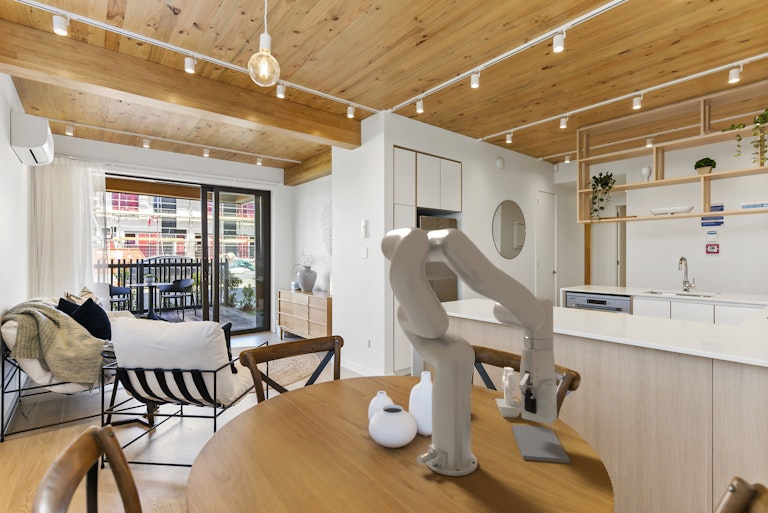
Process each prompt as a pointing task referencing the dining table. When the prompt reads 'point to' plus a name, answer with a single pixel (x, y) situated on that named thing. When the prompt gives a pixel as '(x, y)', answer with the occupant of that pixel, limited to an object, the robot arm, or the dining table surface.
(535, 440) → the mat
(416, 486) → the dining table surface
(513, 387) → the figurine
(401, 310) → the robot arm
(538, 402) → the small box
